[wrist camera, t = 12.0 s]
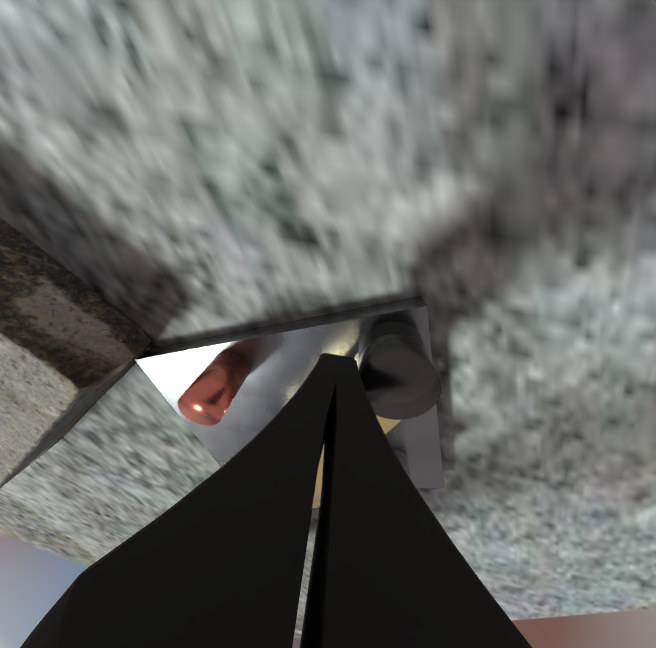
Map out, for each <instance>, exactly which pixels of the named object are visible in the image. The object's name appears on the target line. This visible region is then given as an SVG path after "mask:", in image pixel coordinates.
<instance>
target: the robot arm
mask: <svg viewBox="0 0 656 648" xmlns="http://www.w3.org/2000/svg"><path fill="white" fill-rule="evenodd" d="M323 446H324V456H323V472H322V488H321V499H320V508H319V515H318V522H317V529H316V537H315V544H314V551H313V558H312V565H311V572H310V579H309V586H308V593H307V600H306V607H305V614H304V622H303V629H302V636H301V643H300V648H532V647H531V645H530V644H529V643H528V642H527V640H526V639H525V638H524V637H523V635H522V634H521V633H520V632H519V630H518V629H517V628H516V626H515V625H514V624H513V623H512V621H511V620H510V619H509V617H508V616H507V615H506V614H505V612H504V611H503V610H502V608H501V607H500V606H499V604H498V603H497V602H496V600H495V599H494V598H493V597H492V595H491V594H490V593H489V591H488V590H487V589H486V587H485V586H484V585H483V583H482V582H481V581H480V579H479V578H478V577H477V575H476V574H475V572H474V571H473V570H472V568H471V567H470V566H469V564H468V563H467V562H466V560H465V559H464V557H463V556H462V555H461V553H460V552H459V551H458V549H457V548H456V547H455V545H454V544H453V542H452V541H451V539H450V538H449V536H448V535H447V534H446V532H445V531H444V529H443V528H442V526H441V525H440V523H439V522H438V520H437V519H436V517H435V516H434V514H433V513H432V511H431V510H430V508H429V507H428V506H427V504H426V503H425V501H424V500H423V498H422V497H421V495H420V494H419V492H418V491H417V489H416V487H415V486H414V484H413V482H412V481H411V479H410V478H409V476H408V474H407V473H406V471H405V469H404V468H403V466H402V464H401V462H400V461H399V459H398V457H397V456H396V454H395V452H394V450H393V448H392V447H391V445H390V443H389V441H388V439H387V437H386V435H385V433H384V431H383V429H382V427H381V425H380V423H379V421H378V419H377V417H376V414H375V412H374V410H373V408H372V405H371V403H370V400H369V398H368V396H367V393H366V391H365V388H364V385H363V382H362V379H361V376H360V373H359V370H358V366H357V361H356V360H355V358H352V357H347V356H341V355H335V354H330V353H322V354H321V355H320V357H319V359H318V361H317V363H316V365H315V367H314V368H313V370H312V371H311V373H310V374H309V376H308V377H307V378H306V380H305V381H304V382H303V384H302V385H301V386H300V388H299V389H298V390H297V392H296V393H295V394H294V395H293V397H292V398H291V399H290V400H289V401H288V402H287V404H286V405H285V406H284V407H283V408H282V409H281V411H280V412H279V413H278V414H277V415H276V416H275V417H274V418H273V419H272V420H271V421H270V422H269V423H268V424H267V425H266V426H265V427H264V428H263V429H262V430H261V431H260V432H259V433H258V434H257V435H256V436H255V437H254V438H253V439H252V440H251V441H250V442H249V443H248V444H247V445H246V446H245V447H243V448H242V449H241V450H240V451H239V452H238V453H237V454H236V455H235V456H234V457H232V458H231V459H230V460H229V461H228V462H227V463H226V464H224V465H223V466H222V467H221V468H220V469H219V470H217V471H216V472H215V473H214V474H212V475H211V476H210V477H209V478H207V479H206V480H205V481H204V482H202V483H201V484H200V485H199V486H197V487H196V488H195V489H194V490H192V491H191V492H190V493H189V494H187V495H186V496H185V497H184V498H182V499H181V500H180V501H179V502H177V503H176V504H175V505H174V506H172V507H171V508H170V509H168V510H167V511H166V512H164V513H163V514H162V515H160V516H159V517H158V518H156V519H155V520H154V521H152V522H151V523H149V524H148V525H147V526H145V527H144V528H143V529H141V530H140V531H138V532H137V533H136V534H134V535H133V536H131V537H130V538H129V539H127V540H126V541H125V542H123V543H122V544H120V545H119V546H118V547H116V548H115V549H113V550H112V551H111V552H109V553H108V554H107V555H105V556H104V557H102V558H101V559H100V560H98V561H97V562H95V563H94V564H93V565H91V566H90V567H89V568H87V569H86V570H85V571H83V572H82V573H81V574H80V575H79V576H78V577H77V579H76V580H75V581H74V582H73V583H72V585H71V586H70V587H69V588H68V589H67V590H66V592H65V593H64V594H63V595H62V596H61V598H60V599H59V600H58V601H57V602H56V604H55V605H54V606H53V607H52V608H51V610H50V611H49V612H48V613H47V614H46V615H45V617H44V618H43V619H42V620H41V621H40V623H39V624H38V625H37V626H36V628H35V629H34V630H33V631H32V632H31V634H30V635H29V637H28V638H27V639H26V641H25V642H24V643H23V645H22V646H21V647H20V648H292V645H293V638H294V631H295V624H296V617H297V610H298V603H299V596H300V589H301V582H302V575H303V568H304V561H305V554H306V547H307V541H308V534H309V527H310V520H311V513H312V506H313V499H314V493H315V486H316V479H317V472H318V467H319V463H320V458H321V454H322V450H323Z"/></svg>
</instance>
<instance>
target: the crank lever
mask: <svg viewBox="0 0 656 648" xmlns="http://www.w3.org/2000/svg"><path fill="white" fill-rule="evenodd" d="M354 358H355V360H356V361H357V366H358V370H359V373H360V376H361V379H362V382H363V385H364V388H365V391H366V393H367V396H368V398H369V400H370V403H371V405H372V408H373V410H374V412H375V414H376V417H377V419H378V421H379V423H380V425H381V427H382V429H383V431H384V433H385V434H386V433H387V432H388V431H390V430H391V429H392V428H393V427H394V426H395V425H396V424H397V423H399V422H400V421H401V420H404V419H410V418H414V417H417V416H420V415H422V414H424V413H426V412H427V411H429V410H430V409H431V408H432V407H433V406H434V405H435V404H436V403H437V401H438V399H439V397H440V392H441V387H440V383H439V380H438V378H437V375H436V373H435V370H434V367H433V365H432V362H431V360H430V357H429V355H428V352H427V350H426V347H425V345H424V342H423V340H422V337H421V335H420V334H419V333H418V331H417V330H415V329H414V328H413V327H411V326H410V325H407V324H405V323H401V322H394V321H391V322H383V323H380V324H377V325H375V326H373V327H371V328H370V329H368V330H367V331H366V332H365V333H364V334H363V336H362V337H361V339H360V342H359V347H358V353H357V354H356V356H355V357H354ZM323 456H324V446H323V450H322V454H321V458H320V463H319V467H318V472H317V479H316V486H315V493H314V499H313V506H312V508H318V507H320V499H321V488H322V472H323Z"/></svg>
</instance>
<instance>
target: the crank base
mask: <svg viewBox="0 0 656 648" xmlns="http://www.w3.org/2000/svg"><path fill="white" fill-rule="evenodd" d="M391 321H394V322H401V323H405V324H407V325H410V326H411V327H413V328H414V329H415V330H417V331H418V333H419V334H420V335H421V337H422V340H423V342H424V345H425V347H426V350H427V352H428V355H429V357H430V360H431V362H432V352H431V341H430V331H429V320H428V310H427V305H426V303H425V301H424V299H423V297H422V296H421V297H416V298H411V299H406V300H401V301H395V302H390V303H385V304H380V305H375V306H370V307H365V308H360V309H354V310H349V311H344V312H339V313H334V314H329V315H324V316H318V317H313V318H308V319H303V320H298V321H293V322H288V323H283V324H277V325H272V326H267V327H262V328H257V329H252V330H247V331H241V332H236V333H231V334H226V335H221V336H216V337H211V338H206V339H200V340H195V341H190V342H185V343H180V344H175V345H170V346H164V347H159V348H154V349H149V350H147V351H146V352H144V353H143V354H142V355H140V356H139V357H138V358H137V359H135V361H136V362H137V363H138V364H139V366H140V367H141V368H142V369H143V371H144V372H145V373H146V374H147V376H148V377H149V378H150V379H151V381H152V382H153V383H154V384H155V386H156V387H157V388H158V389H159V391H160V392H161V393H162V394H163V396H164V397H165V398H166V399H167V400H168V402H169V403H170V404H171V405H172V407H173V408H174V409H175V410H176V412H177V413H178V414H179V415H180V417H181V418H182V419H183V420H184V422H185V423H186V424H187V425H188V427H189V428H190V429H191V430H192V432H193V433H194V434H195V435H196V437H197V438H198V439H199V440H200V441H201V443H202V444H203V445H204V446H205V448H206V449H207V450H208V451H209V453H210V454H211V455H212V456H213V458H214V459H215V460H216V461H217V463H218V464H219V465H220V466H221V467H222V466H223V465H224V464H226V463H227V462H228V461H229V460H230V459H231V458H232V457H234V456H235V455H236V454H237V453H238V452H239V451H240V450H241V449H242V448H243V447H245V446H246V445H247V444H248V443H249V442H250V441H251V440H252V439H253V438H254V437H255V436H256V435H257V434H258V433H259V432H260V431H261V430H262V429H263V428H264V427H265V426H266V425H267V424H268V423H269V422H270V421H271V420H272V419H273V418H274V417H275V416H276V415H277V414H278V413H279V412H280V411H281V409H282V408H283V407H284V406H285V405H286V404H287V402H288V401H289V400H290V399H291V398H292V397H293V395H294V394H295V393H296V392H297V390H298V389H299V388H300V386H301V385H302V384H303V382H304V381H305V380H306V378H307V377H308V376H309V374H310V373H311V371H312V370H313V368H314V367H315V365H316V363H317V361H318V359H319V357H320V355H321V354H322V353H330V354H335V355H341V356H347V357H352V358H354V357H355V356H356V354H357V353H358V347H359V342H360V339H361V337H362V336H363V334H364V333H365V332H366V331H367V330H368V329H370V328H371V327H373V326H375V325H377V324H380V323H383V322H391ZM432 365H433V363H432ZM385 435H386V437H387V439H388V441H389V443H390V445H391V447H392V448H393V450H394V452H395V454H396V456H397V457H398V459H399V461H400V462H401V464H402V466H403V468H404V469H405V471H406V473H407V474H408V476H409V478H410V479H411V481H412V482H413V484H414V486H415V487H416V488H444V479H443V469H442V458H441V448H440V437H439V426H438V416H437V405H436V404H435V405H434V406H433V407H432V408H431V409H430V410H429V411H427V412H426V413H424V414H422V415H420V416H417V417H414V418H410V419H404V420H401V421H400V422H399V423H397V424H396V425H395V426H394V427H393V428H392V429H391V430H390V431H388V432H387V433H386V434H385Z"/></svg>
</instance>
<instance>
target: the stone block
mask: <svg viewBox="0 0 656 648" xmlns="http://www.w3.org/2000/svg"><path fill="white" fill-rule="evenodd" d="M150 342H151V339H150V338H149V337H148V335H147V334H146V333H145V331H144V330H143V329H142V328H141V327H139V326H138V325H137V324H136V323H134V322H133V321H132V320H130V319H129V318H128V317H126V316H125V315H124V314H122V313H121V312H120V311H119V310H117V309H116V308H115V307H114V306H112V305H111V304H110V303H108V302H107V301H105V300H104V299H103V297H102V296H100V295H99V294H98V293H96V292H95V291H93V290H92V289H91V288H90V287H89V286H88V285H86V284H85V283H84V282H83V281H82V280H80V279H79V278H78V277H77V276H75V275H74V274H73V273H71V272H70V271H68V270H67V269H66V268H64V267H63V266H62V265H60V264H59V263H58V262H56V261H55V260H54V259H53V258H52V257H50V256H49V255H48V254H47V253H45V252H44V251H43V250H41V249H40V248H39V247H37V246H36V245H35V244H34V243H32V242H31V241H30V240H29V239H28V238H27V237H25V236H24V235H23V234H21V233H20V232H18V231H17V230H15V229H14V228H13V227H12V226H10V225H9V224H7V223H6V222H5V221H3V220H2V219H1V218H0V488H1V487H2V486H4V485H5V484H6V483H7V482H8V481H10V480H11V479H12V478H14V477H15V476H16V475H17V474H19V473H20V472H21V471H22V470H24V469H25V468H26V467H28V466H29V465H30V464H31V463H33V462H34V461H35V460H36V459H38V458H39V457H40V456H41V455H42V454H44V453H45V452H46V451H47V450H49V449H50V448H51V447H52V446H54V445H55V444H56V443H57V442H58V441H59V440H61V439H62V437H63V436H64V435H65V434H66V433H67V432H68V431H70V430H71V428H72V427H73V426H74V425H75V424H76V423H77V422H78V421H79V420H80V418H81V417H82V416H83V415H84V414H85V413H86V412H87V411H88V410H89V409H90V407H91V406H92V405H93V404H94V403H95V402H96V401H97V400H98V399H100V397H101V396H102V395H104V394H105V393H106V392H107V391H108V390H109V389H110V388H111V387H112V386H113V385H114V384H115V383H116V382H117V381H118V380H119V379H121V378H122V377H123V376H124V375H125V374H126V373H127V371H128V370H129V369H130V368H131V367H132V366H133V365H134V364H135V363H136V361H135V359H137V358H138V357H139V356H140V355H142V354H143V353H144V352H145V351H146V350H147V348H148V346H149V344H150Z"/></svg>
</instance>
